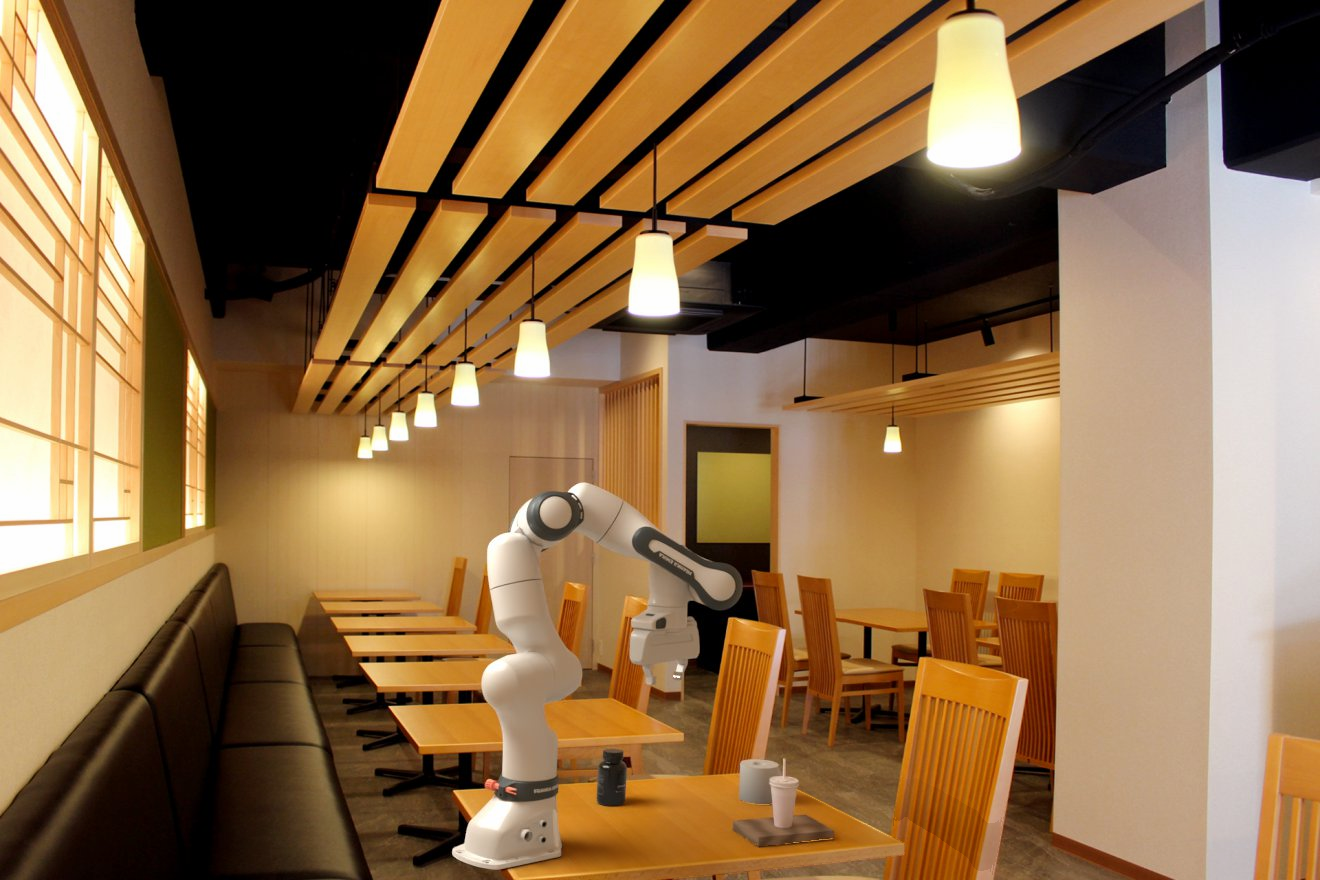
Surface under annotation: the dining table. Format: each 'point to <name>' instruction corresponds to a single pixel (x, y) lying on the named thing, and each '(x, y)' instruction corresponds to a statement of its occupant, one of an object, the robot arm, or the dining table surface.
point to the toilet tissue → (757, 780)
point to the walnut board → (782, 830)
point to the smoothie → (783, 798)
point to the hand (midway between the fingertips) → (664, 682)
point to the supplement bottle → (611, 778)
